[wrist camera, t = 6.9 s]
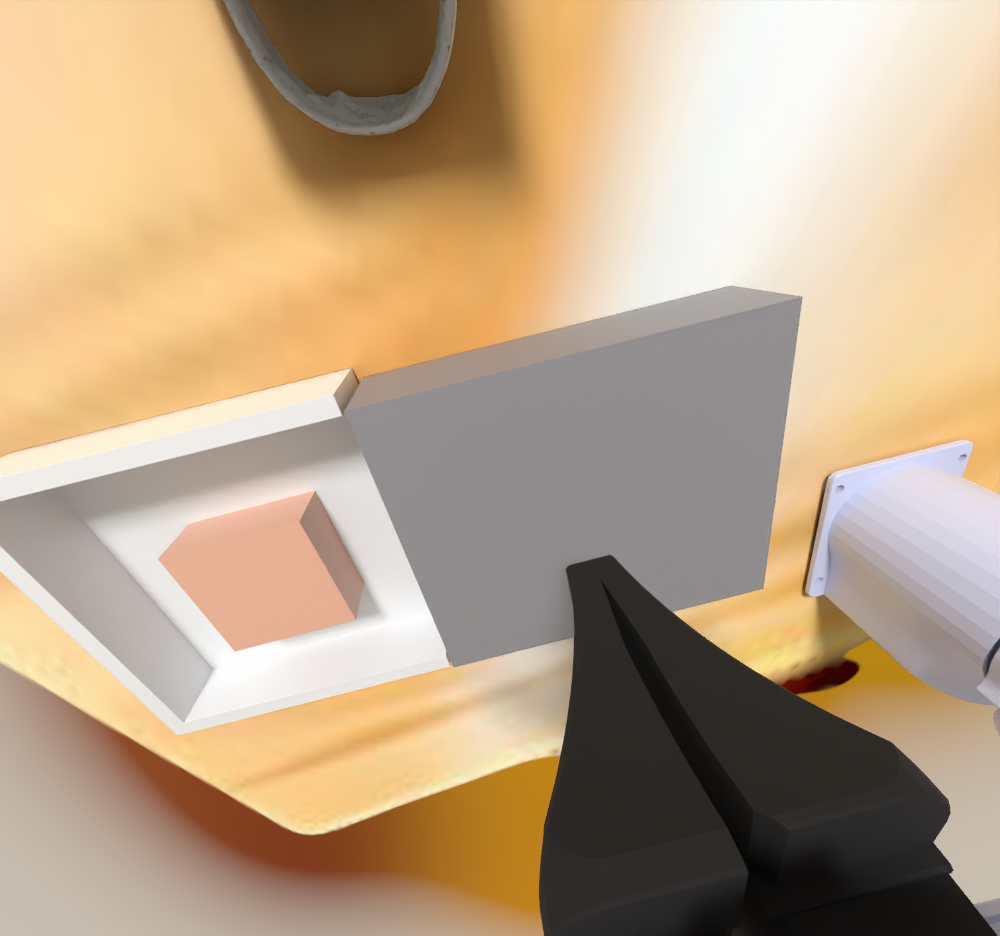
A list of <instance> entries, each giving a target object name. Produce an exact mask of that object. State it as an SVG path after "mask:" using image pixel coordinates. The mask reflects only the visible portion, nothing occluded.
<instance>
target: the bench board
mask: <svg viewBox="0 0 1000 936" xmlns="http://www.w3.org/2000/svg"><path fill="white" fill-rule="evenodd" d="M801 304H802V297H800V296H794V295H787V294H781V293H775V292H768V291H762V290H755V289H749V288H742V287H736V286H729V287H725V288H721V289H717V290H712V291H708V292H704V293H700V294H696V295H692V296H688V297H684V298H680V299H676V300H672V301H668V302H664V303H660V304H656V305H652V306H648V307H644V308H640V309H636V310H632V311H628V312H624V313H620V314H616V315H612V316H608V317H604V318H600V319H596V320H592V321H588V322H584V323H580V324H576V325H572V326H568V327H564V328H560V329H556V330H552V331H548V332H544V333H540V334H536V335H532V336H528V337H524V338H520V339H516V340H512V341H508V342H504V343H500V344H496V345H492V346H488V347H484V348H480V349H476V350H472V351H468V352H464V353H460V354H455V355H451V356H447V357H443V358H439V359H435V360H431V361H427V362H423V363H419V364H415V365H411V366H407V367H403V368H399V369H395V370H391V371H387V372H383V373H379V374H375V375H371V376H367V377H363V379H362V381H361V382H360V384H359V386H358V388H357V390H356V391H355V393H354V395H353V397H352V398H351V400H350V402H349V404H348V406H347V407H346V409H345V414H346V416H347V418H348V421H349V423H350V425H351V428H352V430H353V432H354V435H355V437H356V439H357V442H358V444H359V447H360V449H361V451H362V454H363V456H364V458H365V461H366V463H367V465H368V468H369V470H370V472H371V475H372V477H373V479H374V482H375V484H376V486H377V489H378V491H379V493H380V496H381V498H382V500H383V503H384V505H385V508H386V510H387V512H388V515H389V517H390V519H391V522H392V524H393V526H394V529H395V531H396V533H397V536H398V538H399V540H400V543H401V545H402V547H403V550H404V552H405V554H406V557H407V559H408V561H409V564H410V566H411V569H412V571H413V573H414V576H415V578H416V580H417V583H418V585H419V587H420V590H421V592H422V594H423V597H424V599H425V601H426V604H427V606H428V608H429V611H430V613H431V615H432V618H433V620H434V622H435V625H436V627H437V630H438V632H439V634H440V637H441V639H442V641H443V644H444V646H445V648H446V651H447V653H448V655H449V658H450V660H451V662H452V665H453V667H457V666H461V665H465V664H469V663H473V662H477V661H481V660H485V659H489V658H493V657H497V656H500V655H504V654H508V653H512V652H516V651H520V650H524V649H528V648H532V647H536V646H540V645H544V644H548V643H552V642H556V641H560V640H563V639H567V638H571V637H574V613H573V604H572V599H571V594H570V589H569V584H568V579H567V574H566V568H567V567H568V566H569V565H572V564H576V563H579V562H583V561H587V560H591V559H595V558H599V557H603V556H607V555H612V556H614V557H615V558H616V559H617V561H618V562H619V563H620V564H621V565H622V566H623V567H624V568H625V569H626V570H627V571H628V572H629V573H630V574H631V575H632V576H633V577H634V578H635V579H636V580H637V581H638V582H639V583H640V584H641V585H642V586H643V587H644V588H645V589H646V590H647V591H649V592H650V593H651V594H652V595H653V596H654V597H655V598H656V599H658V600H659V601H660V602H661V603H662V604H663V605H664V606H666V607H667V608H668V609H669V610H670V611H671V612H674V611H678V610H682V609H685V608H689V607H693V606H697V605H701V604H705V603H709V602H713V601H717V600H721V599H725V598H729V597H733V596H737V595H741V594H745V593H748V592H752V591H756V590H760V589H763V587H764V580H765V572H766V565H767V557H768V550H769V542H770V535H771V527H772V520H773V513H774V505H775V498H776V490H777V483H778V475H779V468H780V460H781V453H782V445H783V438H784V430H785V423H786V416H787V408H788V401H789V393H790V386H791V378H792V371H793V363H794V356H795V348H796V341H797V333H798V326H799V318H800V311H801Z"/></svg>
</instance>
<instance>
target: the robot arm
mask: <svg viewBox="0 0 1000 936" xmlns="http://www.w3.org/2000/svg"><path fill="white" fill-rule="evenodd" d="M972 450H973V443H972V442H969V441H967V440H958V441H954V442H950V443H946V444H942V445H938V446H934V447H931V448H927V449H923V450H919V451H915V452H911V453H907V454H903V455H899V456H895V457H891V458H887V459H883V460H879V461H875V462H871V463H867V464H863V465H859V466H855V467H851V468H847V469H843V470H839V471H836V472H834V473H832V474H831V475H830V476H829V477H828V480H827V484H826V489H825V494H824V499H823V504H822V509H821V514H820V519H819V524H818V528H817V533H816V538H815V543H814V548H813V553H812V558H811V563H810V568H809V573H808V578H807V583H806V588H805V592H806V593H807V594H808V595H809V596H810V597H817V596H821V595H825V596H826V597H827V598H828V599H830V600H831V601H832V602H833V603H834V604H835V605H836V606H837V607H838V608H839V609H840V610H841V611H843V612H844V613H845V614H846V615H847V616H848V617H849V618H850V619H851V620H852V621H853V622H854V623H856V624H857V625H858V626H859V627H860V628H861V629H862V630H863V631H864V632H865V633H866V634H868V635H869V636H870V637H871V638H872V639H873V640H874V641H875V642H876V643H877V644H878V645H880V646H881V647H882V648H883V649H884V650H885V651H886V652H887V653H888V654H889V655H890V656H891V657H892V658H894V659H895V660H896V661H897V662H898V663H899V664H900V665H901V666H902V667H903V668H905V669H906V670H907V671H908V672H910V673H911V674H912V675H914V676H915V677H917V678H918V679H920V680H921V681H923V682H925V683H926V684H928V685H930V686H932V687H934V688H936V689H938V690H940V691H942V692H944V693H946V694H948V695H951V696H953V697H956V698H959V699H962V700H965V701H968V702H973V703H978V704H984V705H995V706H996V707H998V709H997V710H996V711H995V713H994V717H993V719H994V724H995V727H996V729H997V731H998V733H999V735H1000V494H998V493H996V492H994V491H992V490H990V489H987V488H985V487H983V486H981V485H979V484H976V483H974V482H972V481H970V480H967V479H965V478H963V477H962V475H963V473H964V470H965V468H966V465H967V463H968V460H969V457H970V455H971V452H972ZM566 574H567V579H568V584H569V589H570V594H571V599H572V604H573V613H574V659H573V674H572V685H571V694H570V702H569V709H568V717H567V723H566V730H565V736H564V741H563V746H562V751H561V756H560V761H559V766H558V772H557V776H556V780H555V785H554V788H553V792H552V796H551V800H550V804H549V808H548V812H547V816H546V820H545V824H544V835H543V845H542V854H541V865H540V880H539V901H540V912H541V918H542V925H543V931H544V936H1000V898H998V899H994V900H990V901H986V902H982V903H978V904H974V905H973V904H972V903H971V901H970V900H969V899H968V897H967V896H966V895H965V894H964V892H963V891H962V890H961V889H960V887H959V886H958V885H957V884H956V883H955V881H954V880H953V879H952V878H951V876H950V875H949V873H951V872H952V871H953V869H952V866H951V864H950V863H949V862H948V860H947V859H946V858H945V857H944V856H943V854H942V853H941V852H940V850H939V849H938V848H937V847H936V845H935V844H934V843H933V842H934V840H935V839H936V837H937V836H938V834H939V833H940V831H941V829H942V828H943V827H944V825H945V824H946V822H947V820H948V818H949V815H950V804H949V801H948V799H947V798H946V797H945V796H944V795H943V794H942V793H941V791H940V790H939V789H938V788H937V787H936V786H935V785H934V784H933V783H932V781H931V780H930V779H929V778H928V777H927V776H926V775H925V774H924V773H923V772H922V771H921V770H920V769H919V768H918V767H917V766H916V765H915V764H914V763H913V762H912V761H911V760H910V759H909V758H908V757H907V756H906V755H904V754H903V753H902V752H901V751H900V750H899V749H898V748H897V747H896V746H895V745H894V744H893V743H891V742H890V741H887V740H885V739H883V738H881V737H879V736H877V735H875V734H872V733H870V732H868V731H866V730H864V729H862V728H859V727H858V726H855V725H853V724H851V723H849V722H847V721H845V720H843V719H841V718H839V717H837V716H835V715H833V714H830V713H829V712H827V711H825V710H823V709H821V708H819V707H817V706H816V705H814V704H811V703H810V702H808V701H806V700H804V699H802V698H800V697H799V696H797V695H795V694H793V693H792V692H790V691H788V690H786V689H785V688H783V687H781V686H780V685H778V684H776V683H774V682H773V681H771V680H769V679H768V678H766V677H764V676H762V675H761V674H759V673H757V672H756V671H754V670H752V669H751V668H749V667H748V666H746V665H744V664H743V663H741V662H740V661H738V660H737V659H735V658H734V657H732V656H731V655H729V654H728V653H726V652H725V651H723V650H722V649H720V648H719V647H717V646H716V645H714V644H713V643H712V642H710V641H709V640H707V639H706V638H705V637H703V636H702V635H701V634H699V633H698V632H697V631H695V630H694V629H693V628H691V627H690V626H689V625H688V624H686V623H685V622H684V621H683V620H681V619H680V618H679V617H678V616H676V615H675V614H674V613H673V612H671V611H670V610H669V609H668V608H667V607H666V606H664V605H663V604H662V603H661V602H660V601H659V600H658V599H656V598H655V597H654V596H653V595H652V594H651V593H650V592H649V591H647V590H646V589H645V588H644V587H643V586H642V585H641V584H640V583H639V582H638V581H637V580H636V579H635V578H634V577H633V576H632V575H631V574H630V573H629V572H628V571H627V570H626V569H625V568H624V567H623V566H622V565H621V564H620V563H619V562H618V561H617V559H616V558H615V557H614V556H612V555H607V556H603V557H599V558H595V559H591V560H587V561H583V562H579V563H576V564H572V565H569V566H568V567H567V568H566Z"/></svg>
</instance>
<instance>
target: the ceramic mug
mask: <svg viewBox="0 0 1000 936" xmlns="http://www.w3.org/2000/svg"><path fill="white" fill-rule="evenodd" d="M223 2H224V4H225V6H226V8H227V10H228V12H229V14H230V16H231V18H232V20H233V22H234V25H235V28H236V30H237V32H238V33H239V35H240V36H241V38H242V39H243V41H244V42H245V44H246V46H247V47H248V49H249V51H250V53H251V55H252V57H253V58H254V60H255V62H256V63H257V64H258V66H259V67H260V68H261V70H262V71H263V72H264V73H265V75H266V76H267V77H268V78H269V80H270V81H271V82H272V84H273V85H274V86H275V88H276V89H277V90H278V91H279V92H280V93H281V94H282V95H283V96H284V97H285V99H286V100H287V101H289V102H290V103H291V104H292V105H294V106H295V107H296V108H298V109H299V110H300V111H302V112H303V113H305V114H306V115H307V116H309V117H310V118H311V119H313V120H315V121H317V122H319V123H321V124H323V125H324V126H326V127H328V128H330V129H332V130H335V131H337V132H343V133H348V134H351V135H370V136H371V135H380V134H388V133H393V132H395V131H397V130H400V129H402V128H405V127H407V126H409V125H410V124H412V123H414V122H416V120H417V119H418V118H419V116H420V115H421V114H422V113H423V112H424V111H425V110H426V109H427V108H428V107H429V106H430V105H431V104H432V102H433V100H434V98H435V96H436V94H437V92H438V90H439V88H440V85H441V83H442V81H443V78H444V75H445V73H446V70H447V67H448V63H449V59H450V56H451V50H452V45H453V40H454V33H455V23H456V13H457V0H439V19H438V29H437V36H436V43H435V48H434V52H433V55H432V58H431V61H430V65H429V68H428V70H427V72H426V74H425V76H424V77H423V79H422V81H421V83H420V84H419V85H417V86H415V87H414V88H412V89H410V90H409V91H408V92H407V93H404V94H394V95H386V96H378V97H350V96H348V95H347V94H345V93H343V92H341V91H340V90H339V91H335V92H331V93H330V94H329V95H328V97H326V96H323V95H320V94H317V93H315V92H314V91H313V90H312V89H311V88H310V87H309V86H308V85H307V84H306V83H305V82H304V81H303V80H302V79H301V78H299V77H298V76H297V75H296V74H295V73H294V72H293V71H291V69H290V68H289V67H288V65H287V64H286V62H285V61H284V60H283V58H282V56H281V54H280V52H279V50H278V49H277V48H276V46H275V45H274V44H273V43H272V41H271V39H270V38H269V36H268V34H267V32H266V30H265V28H264V26H263V24H262V22H261V20H260V18H259V17H258V15H257V13H256V11H255V9H254V7H253V5H252V2H251V0H223Z"/></svg>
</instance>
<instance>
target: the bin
mask: <svg viewBox="0 0 1000 936" xmlns="http://www.w3.org/2000/svg"><path fill="white" fill-rule="evenodd" d="M358 386H359V385H358V382H357V380H356V377H355V375H354V372H353V369H352V368H349V369H345V370H341V371H337V372H333V373H329V374H325V375H321V376H317V377H312V378H308V379H304V380H300V381H296V382H292V383H288V384H284V385H280V386H276V387H272V388H268V389H264V390H260V391H256V392H252V393H248V394H244V395H240V396H236V397H232V398H228V399H224V400H220V401H216V402H212V403H208V404H204V405H200V406H196V407H192V408H188V409H184V410H180V411H176V412H172V413H168V414H164V415H160V416H156V417H152V418H148V419H144V420H140V421H136V422H132V423H128V424H124V425H120V426H116V427H112V428H108V429H103V430H99V431H95V432H91V433H87V434H83V435H79V436H75V437H71V438H67V439H63V440H59V441H55V442H51V443H47V444H43V445H39V446H35V447H31V448H27V449H23V450H19V451H15V452H12V453H10V454H7V455H5V456H3V457H1V458H0V571H1V572H2V573H3V574H4V575H5V576H6V577H7V578H8V579H9V580H10V581H11V582H12V583H14V584H15V585H16V586H17V587H18V588H19V589H20V590H21V591H22V592H23V593H24V594H25V595H26V596H28V597H29V598H30V599H31V600H32V601H33V602H34V603H35V604H36V605H37V606H38V607H39V608H41V609H42V610H43V611H44V612H45V613H46V614H47V615H48V616H49V617H50V618H51V619H52V620H53V621H55V622H56V623H57V624H58V625H59V626H60V627H61V628H62V629H63V630H64V631H65V632H66V633H68V634H69V635H70V636H71V637H72V638H73V639H74V640H75V641H76V642H77V643H78V644H79V645H81V646H82V647H83V648H84V649H85V650H86V651H87V652H88V653H89V654H90V655H91V656H92V657H93V658H95V659H96V660H97V661H98V662H99V663H100V664H101V665H102V666H103V667H104V668H105V669H106V670H108V671H109V672H110V673H111V674H112V675H113V676H114V677H115V678H116V679H117V680H118V681H119V682H120V683H122V684H123V685H124V686H125V687H126V688H127V689H128V690H129V691H130V692H131V693H132V694H133V695H135V696H136V697H137V698H138V699H139V700H140V701H141V702H142V703H143V704H144V705H145V706H146V707H148V708H149V709H150V710H151V711H152V712H153V713H154V714H155V715H156V716H157V717H158V718H159V719H160V720H162V721H163V722H164V723H165V724H166V725H167V726H168V727H169V728H170V729H171V730H172V731H173V732H175V733H176V734H177V735H182V734H186V733H189V732H193V731H197V730H201V729H205V728H209V727H213V726H217V725H221V724H225V723H229V722H233V721H237V720H241V719H245V718H248V717H252V716H256V715H260V714H264V713H268V712H272V711H276V710H280V709H284V708H288V707H292V706H296V705H300V704H304V703H308V702H311V701H315V700H319V699H323V698H327V697H331V696H335V695H339V694H343V693H347V692H351V691H355V690H359V689H363V688H367V687H371V686H374V685H378V684H382V683H386V682H390V681H394V680H398V679H402V678H406V677H410V676H414V675H418V674H422V673H426V672H430V671H434V670H437V669H441V668H445V667H449V666H450V658H449V655H448V653H447V651H446V648H445V646H444V644H443V641H442V639H441V637H440V634H439V632H438V630H437V627H436V625H435V622H434V620H433V618H432V615H431V613H430V611H429V608H428V606H427V604H426V601H425V599H424V597H423V594H422V592H421V590H420V587H419V585H418V583H417V580H416V578H415V576H414V573H413V571H412V569H411V566H410V564H409V561H408V559H407V557H406V554H405V552H404V550H403V547H402V545H401V543H400V540H399V538H398V536H397V533H396V531H395V529H394V526H393V524H392V522H391V519H390V517H389V515H388V512H387V510H386V508H385V505H384V503H383V500H382V498H381V496H380V493H379V491H378V489H377V486H376V484H375V482H374V479H373V477H372V475H371V472H370V470H369V468H368V465H367V463H366V461H365V458H364V456H363V454H362V451H361V449H360V447H359V444H358V442H357V439H356V437H355V435H354V432H353V430H352V428H351V425H350V423H349V421H348V418H347V416H346V414H345V409H346V407H347V406H348V404H349V402H350V400H351V398H352V397H353V395H354V393H355V391H356V390H357V388H358ZM311 491H316V493H317V495H318V497H319V499H320V500H321V502H322V504H323V506H324V508H325V510H326V512H327V514H328V515H329V517H330V519H331V521H332V523H333V525H334V527H335V529H336V531H337V532H338V534H339V536H340V538H341V540H342V542H343V544H344V546H345V547H346V549H347V551H348V553H349V555H350V557H351V559H352V561H353V563H354V564H355V566H356V568H357V570H358V572H359V574H360V576H361V578H362V579H363V581H364V587H363V591H362V596H361V600H360V605H359V609H358V614H357V618H356V620H354V621H350V622H346V623H342V624H338V625H335V626H331V627H327V628H323V629H319V630H316V631H312V632H308V633H304V634H300V635H297V636H293V637H289V638H285V639H281V640H278V641H274V642H270V643H266V644H262V645H259V646H255V647H251V648H247V649H243V650H239V651H236V652H235V651H234V650H233V649H232V648H231V646H230V645H229V644H228V643H227V642H226V640H225V639H224V638H223V637H222V636H221V634H220V633H219V632H218V631H217V630H216V628H215V627H214V626H213V625H212V624H211V622H210V621H209V620H208V619H207V618H206V616H205V615H204V614H203V613H202V612H201V610H200V609H199V608H198V607H197V606H196V604H195V603H194V602H193V601H192V600H191V598H190V597H189V596H188V595H187V594H186V592H185V591H184V590H183V589H182V588H181V586H180V585H179V584H178V583H177V582H176V580H175V579H174V578H173V577H172V576H171V574H170V573H169V572H168V571H167V570H166V568H165V567H164V566H163V565H162V564H161V562H160V561H159V560H158V558H159V557H160V556H161V555H162V554H163V553H164V551H165V550H166V549H167V548H168V547H169V546H170V545H171V544H172V542H173V541H174V540H175V539H176V538H177V537H178V536H179V535H180V533H181V532H182V531H183V530H184V529H185V528H186V527H187V525H188V524H189V523H193V522H196V521H200V520H204V519H208V518H212V517H216V516H219V515H223V514H227V513H231V512H235V511H238V510H242V509H246V508H250V507H254V506H257V505H261V504H265V503H269V502H273V501H276V500H280V499H284V498H288V497H292V496H296V495H299V494H303V493H307V492H311Z"/></svg>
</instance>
